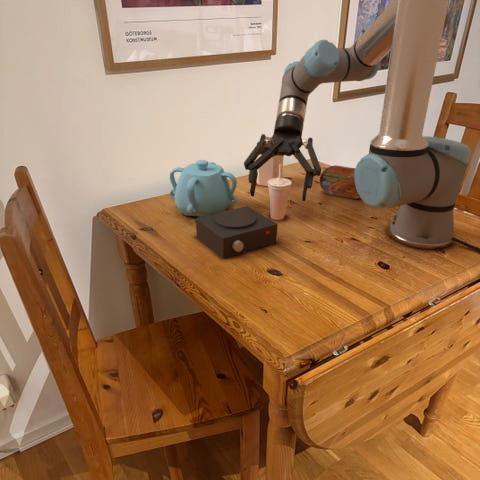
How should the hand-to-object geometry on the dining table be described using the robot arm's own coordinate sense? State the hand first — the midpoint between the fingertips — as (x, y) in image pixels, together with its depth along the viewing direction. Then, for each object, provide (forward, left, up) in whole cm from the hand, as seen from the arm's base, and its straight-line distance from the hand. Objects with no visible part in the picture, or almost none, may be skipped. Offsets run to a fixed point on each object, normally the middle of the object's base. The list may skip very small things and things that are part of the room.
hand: (277, 196), depth 115 cm
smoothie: (+1, -1, -7) cm, 7 cm away
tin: (+4, -28, -7) cm, 30 cm away
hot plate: (-5, +16, -6) cm, 18 cm away
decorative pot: (+15, +14, -7) cm, 21 cm away
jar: (+25, -15, -7) cm, 30 cm away
